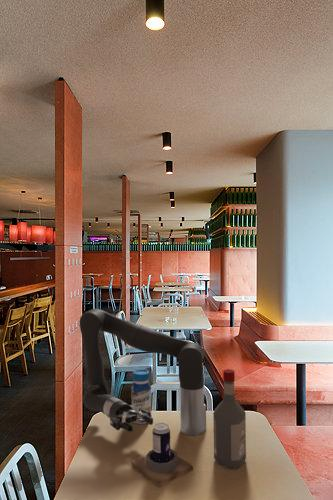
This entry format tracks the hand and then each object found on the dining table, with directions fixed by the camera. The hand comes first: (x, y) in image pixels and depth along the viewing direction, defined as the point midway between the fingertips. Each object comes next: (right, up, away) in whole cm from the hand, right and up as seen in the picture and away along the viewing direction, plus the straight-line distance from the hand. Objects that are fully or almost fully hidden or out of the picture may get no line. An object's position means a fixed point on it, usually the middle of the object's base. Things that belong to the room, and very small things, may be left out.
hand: (142, 425), depth 135 cm
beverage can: (+7, -9, -8) cm, 14 cm away
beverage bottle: (-2, -10, +27) cm, 28 cm away
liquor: (+30, -10, -5) cm, 32 cm away
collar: (+7, -8, -9) cm, 14 cm away
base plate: (+7, -10, -9) cm, 15 cm away
